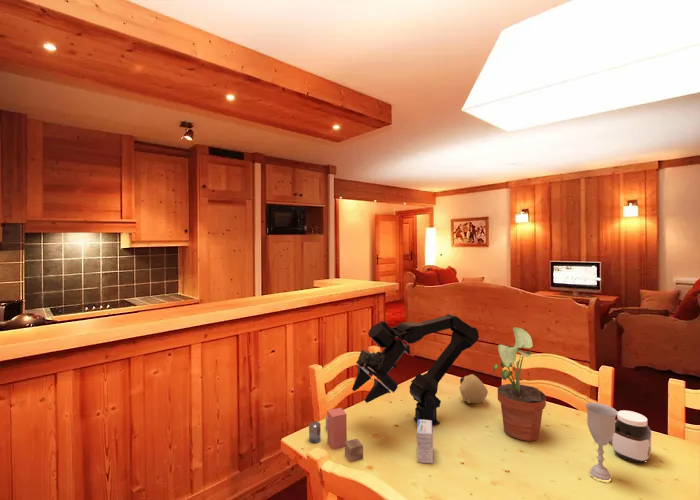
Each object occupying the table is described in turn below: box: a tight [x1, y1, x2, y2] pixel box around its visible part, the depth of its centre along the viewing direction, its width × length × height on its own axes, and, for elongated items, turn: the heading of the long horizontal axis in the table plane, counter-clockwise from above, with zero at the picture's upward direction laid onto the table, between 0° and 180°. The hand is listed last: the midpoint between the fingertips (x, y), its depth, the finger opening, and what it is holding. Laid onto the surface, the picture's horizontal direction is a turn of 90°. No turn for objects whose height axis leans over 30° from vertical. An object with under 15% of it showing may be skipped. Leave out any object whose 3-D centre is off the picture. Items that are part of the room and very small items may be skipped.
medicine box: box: [416, 420, 434, 464], centre depth 106 cm, size 8×4×9 cm, turn 168°
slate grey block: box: [325, 416, 328, 432], centre depth 120 cm, size 4×4×4 cm
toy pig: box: [459, 373, 489, 404], centre depth 140 cm, size 10×12×11 cm
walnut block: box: [344, 438, 364, 463], centre depth 105 cm, size 4×4×4 cm
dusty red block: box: [326, 407, 348, 451], centre depth 112 cm, size 4×4×10 cm
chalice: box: [584, 402, 618, 480], centre depth 95 cm, size 7×7×18 cm
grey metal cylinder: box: [308, 421, 322, 444], centre depth 114 cm, size 4×4×5 cm
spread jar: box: [609, 409, 652, 464], centre depth 106 cm, size 12×11×12 cm
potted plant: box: [493, 326, 547, 442], centre depth 116 cm, size 16×15×35 cm
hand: (359, 395), depth 115 cm, fingers open, 9 cm apart
